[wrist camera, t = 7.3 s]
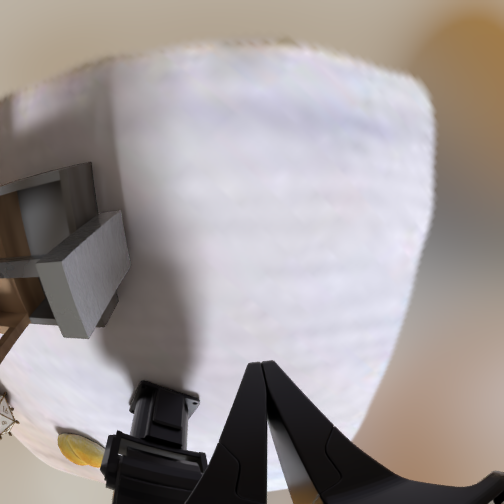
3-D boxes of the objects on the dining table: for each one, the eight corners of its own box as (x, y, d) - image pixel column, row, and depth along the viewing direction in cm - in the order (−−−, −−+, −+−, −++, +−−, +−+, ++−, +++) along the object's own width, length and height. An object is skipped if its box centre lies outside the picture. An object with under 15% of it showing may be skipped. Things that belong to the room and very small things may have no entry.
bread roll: (118, 458, 32) (115, 476, 29) (79, 452, 32) (74, 469, 28) (91, 433, 29) (86, 454, 25) (52, 427, 29) (45, 445, 25)
